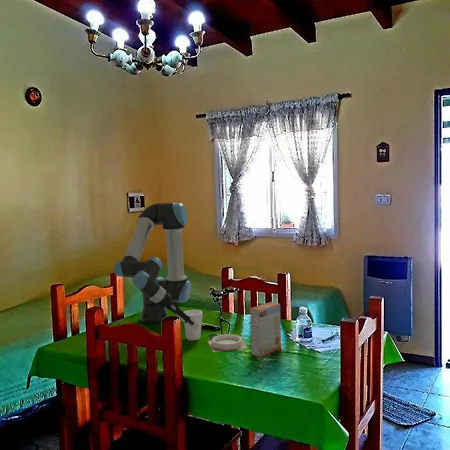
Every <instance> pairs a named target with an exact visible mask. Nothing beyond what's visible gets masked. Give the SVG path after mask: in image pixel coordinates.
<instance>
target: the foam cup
mask: <svg viewBox="0 0 450 450" xmlns="http://www.w3.org/2000/svg"><path fill="white" fill-rule="evenodd" d="M183 312H184V313H185V314H186V315H187V316H189V317H190V318H191V319H192V320H193V321H194V322H195V323H197V324H198V325H199V327H198V328H197V330H194V329H193V328H192V327H191V326H190V325H189V324H187V323H185V320H184V322H183V323H184V329H185V330H184V331H185V336H186V339H187V340H189V341H198V340H200V339H201V332H202V323H203V317H204V316H203V311H202V310H198V309H190V310H185V311H183Z"/></svg>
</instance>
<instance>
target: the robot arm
mask: <svg viewBox="0 0 450 450" xmlns="http://www.w3.org/2000/svg"><path fill="white" fill-rule="evenodd" d="M188 218H189V217H188V212H187V208H186V206H185V204H183V203H181V202H156V203H152V204H150V205H148V206H147V207H146V208H144V209H143V210H142V212H141V213H140V214H139V216H137V220H136V227H135V229H134V232H133V234H132V237H131V239H130V242H129V244H128V246H127V249H126V251H125V254H124V256H123V258H122V260H117V261H116V262H115V263H114V267H113V273H114V275H116V276H117V277H118V278H119V277H120V278H121V277H122V278H132V281H131V283H132V285H134V286H135V288H136V289H137V290H139V291H140V292H141V293H142V306H143V307H142V310H141V314H140V322H141V323H145V324H158V323H159V324H160V323H162V322H161V321H162V319H163V318H165V317H168V318H169V314H168V311H169V312H172V313H173V314H174V315H175V316H176V317H177V318H179V319H180V320H181V321H182V322H183V323H184V320H185V323H187V324H189V325H190V326H191V327H192V328H193V329H194V330H197V328H198V327H199V325H198V324H197V323H195V322H194V321H193V320H192V319H191V318H190V317H189V316H187V315H186V314H185V313H184V311H183V310H182V309H181V308H180V307H179V306H178V305H177V304H176V303H185V302H187V301H188V300H189V299H190V297H191V292H192V283H191V281H190V280H188V276H187V275H186V274H185V269H184V268H185V267H184V249H183V248H184V247H183V230H184V229H185V226H186V225H187V224H188V222H189V221H188ZM155 226H162V230H163V231H164V232H165V239H166V241H165V242H166V243H165V244H166V257H167V259H166V260H167V276H166V277H165V278H164V277H163V276H159V275H160V273H161V271H162V267H163V261H162V260H161V259H160V258H159V257H157V256H151V257H149V258H148V259H146V261H144V260H143V261H140V259H141V256H142V254H143V251H144V249H145V247H146V244H147V241H148V239H149V235H150V234H151V231H152V230H153V229H154V228H155ZM167 310H168V311H167Z"/></svg>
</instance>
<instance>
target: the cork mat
mask: <svg viewBox="0 0 450 450" xmlns="http://www.w3.org/2000/svg"><path fill="white" fill-rule="evenodd" d="M206 341H207V343H208V345H209V347H210V349H211V351H212V353H219V352H220V353H221V352H230V351H241V350H249V347H247V345H246V344H245V343H244V341H243V340H242V345H241V347H239V348H236V349H231V350H222V349H217V348H214V347H213V346H212V339H207V340H206Z"/></svg>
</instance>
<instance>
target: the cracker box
mask: <svg viewBox="0 0 450 450" xmlns="http://www.w3.org/2000/svg"><path fill="white" fill-rule="evenodd" d="M249 310H250V312H249V313H250V337H251V338H250V339H251V341H250V343H251V356H252V355H253V356H256V357H259V358H263V357H266V356H269V355H270V354H273V353H274V352H277V351H280V350H281V349H282V332H281V331H282V330H281V329H282V327H281V325H282V323H281V304H280V303H278V302H277V303H276V302H272V301H270V302H267V303H264V304H261V305H258V306H254V307H253V306H252V307H251V308H249Z"/></svg>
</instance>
